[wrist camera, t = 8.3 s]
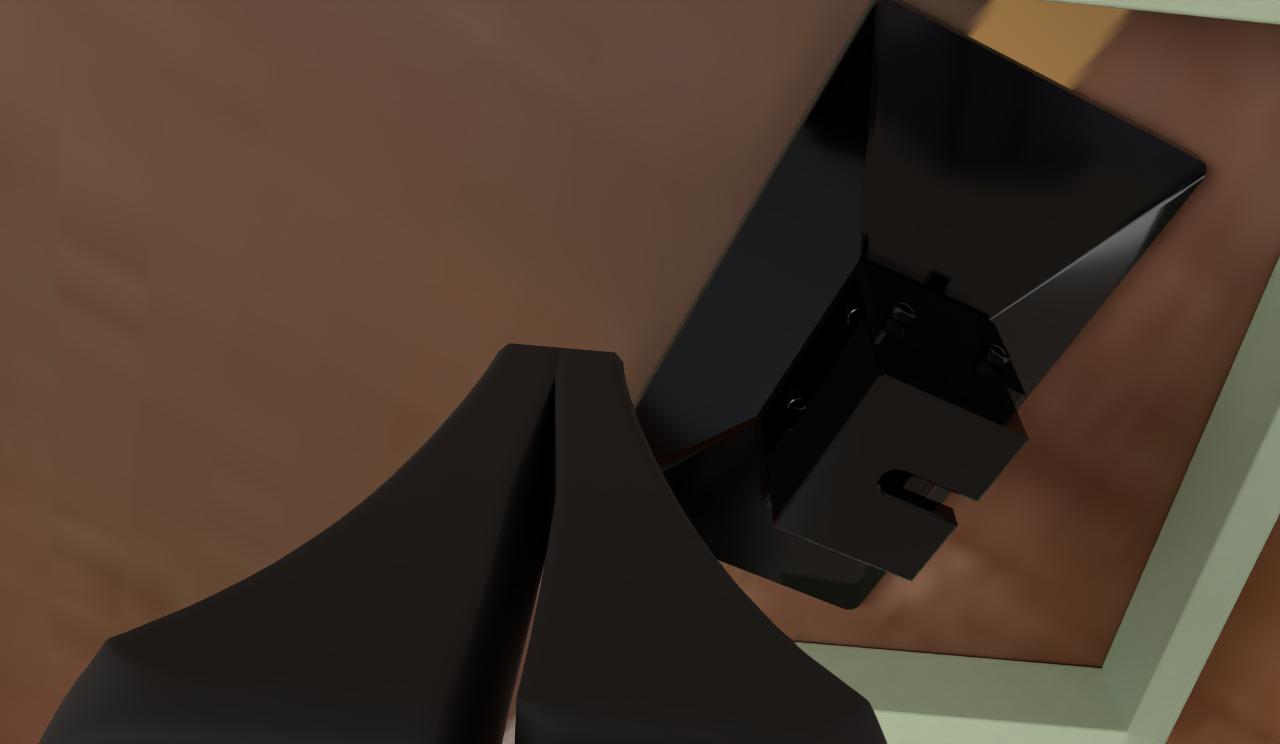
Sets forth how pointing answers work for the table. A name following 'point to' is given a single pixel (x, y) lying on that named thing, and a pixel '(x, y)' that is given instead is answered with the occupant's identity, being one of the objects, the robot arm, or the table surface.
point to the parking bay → (1166, 593)
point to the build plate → (897, 304)
